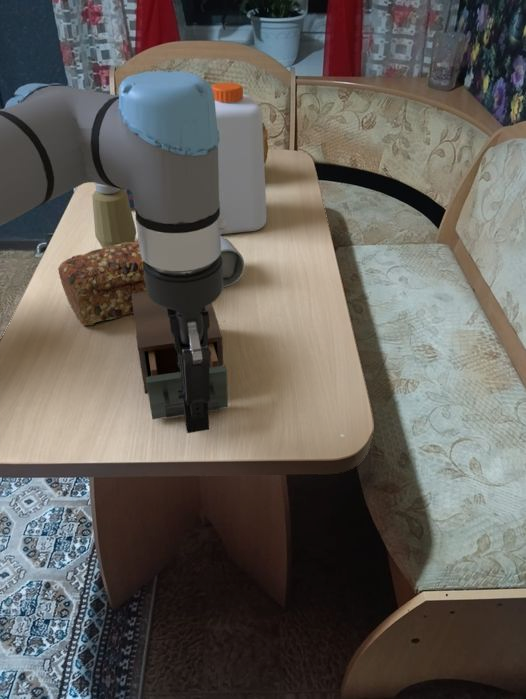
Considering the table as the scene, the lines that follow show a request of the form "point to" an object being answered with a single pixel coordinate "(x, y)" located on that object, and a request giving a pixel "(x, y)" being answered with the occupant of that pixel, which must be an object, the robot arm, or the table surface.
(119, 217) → the squeeze bottle
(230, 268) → the ceramic mug
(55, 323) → the table surface
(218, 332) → the cabinet
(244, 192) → the plastic bottle
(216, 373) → the drawer
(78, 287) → the bread
